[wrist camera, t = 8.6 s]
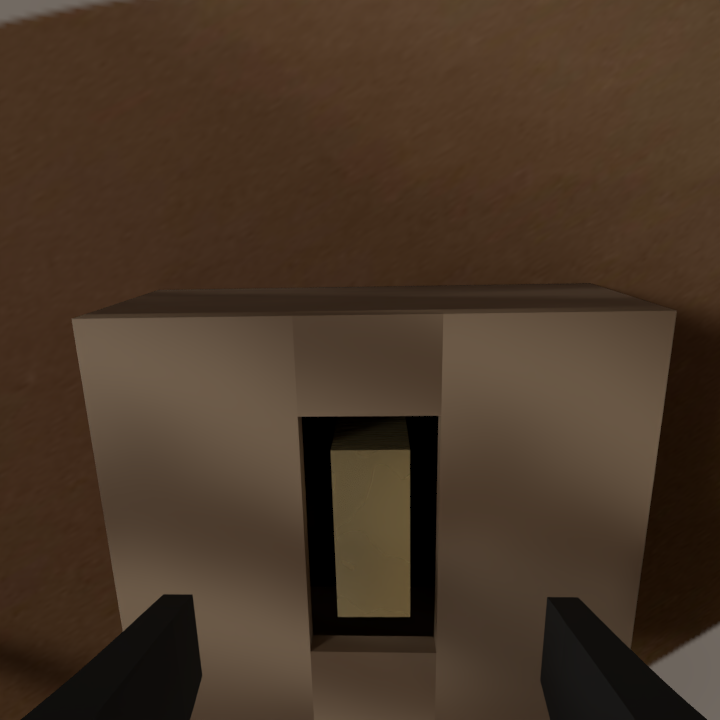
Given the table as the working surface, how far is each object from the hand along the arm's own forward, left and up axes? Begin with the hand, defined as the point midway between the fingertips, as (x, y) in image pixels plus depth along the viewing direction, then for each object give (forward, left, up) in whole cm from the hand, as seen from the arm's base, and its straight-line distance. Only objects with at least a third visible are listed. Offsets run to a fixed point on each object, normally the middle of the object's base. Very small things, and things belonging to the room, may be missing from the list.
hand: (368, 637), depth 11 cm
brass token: (0, 0, -8) cm, 8 cm away
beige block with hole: (0, 0, -8) cm, 8 cm away
